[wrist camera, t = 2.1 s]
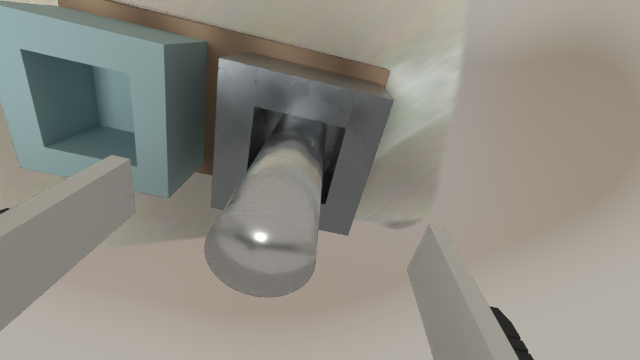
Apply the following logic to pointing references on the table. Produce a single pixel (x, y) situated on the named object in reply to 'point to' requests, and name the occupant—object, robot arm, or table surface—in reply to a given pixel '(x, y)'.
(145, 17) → the tool board
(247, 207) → the translucent peg
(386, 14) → the table surface
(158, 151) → the teal square holder
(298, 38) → the table surface
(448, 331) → the robot arm
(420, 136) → the table surface
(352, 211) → the socket block
